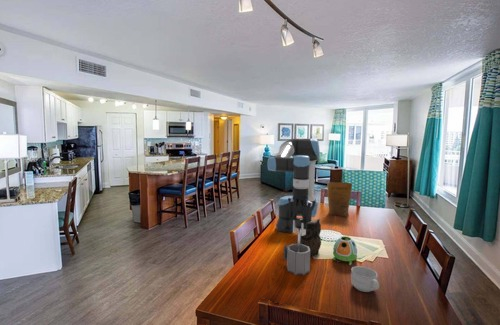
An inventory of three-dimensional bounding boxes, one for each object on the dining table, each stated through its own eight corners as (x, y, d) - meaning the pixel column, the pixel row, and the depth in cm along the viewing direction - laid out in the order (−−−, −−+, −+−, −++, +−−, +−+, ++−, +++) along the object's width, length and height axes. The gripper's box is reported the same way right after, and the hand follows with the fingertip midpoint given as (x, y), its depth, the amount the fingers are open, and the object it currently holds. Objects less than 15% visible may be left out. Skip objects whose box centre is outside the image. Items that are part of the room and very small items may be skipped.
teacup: (346, 281, 127) (347, 265, 126) (368, 281, 128) (369, 264, 127) (360, 300, 113) (362, 282, 112) (385, 299, 114) (387, 281, 113)
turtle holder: (359, 253, 156) (360, 233, 154) (354, 267, 140) (355, 245, 139) (337, 249, 162) (338, 229, 160) (330, 261, 146) (331, 240, 145)
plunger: (287, 256, 137) (288, 218, 135) (297, 251, 142) (298, 215, 140) (300, 261, 132) (301, 222, 129) (309, 256, 137) (310, 219, 135)
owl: (321, 250, 159) (322, 217, 157) (319, 260, 147) (321, 224, 145) (299, 247, 163) (300, 215, 161) (296, 257, 151) (297, 222, 149)
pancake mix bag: (349, 217, 220) (351, 183, 217) (325, 214, 229) (327, 181, 226) (350, 215, 226) (352, 182, 223) (327, 212, 235) (328, 180, 232)
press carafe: (277, 266, 140) (278, 245, 139) (291, 259, 148) (291, 240, 147) (300, 277, 130) (301, 255, 129) (313, 269, 138) (314, 248, 136)
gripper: (281, 185, 137) (280, 230, 139) (311, 191, 124) (309, 240, 127) (291, 183, 142) (290, 227, 144) (320, 189, 129) (318, 236, 132)
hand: (299, 233), depth 136 cm, fingers closed on plunger, 4 cm apart
